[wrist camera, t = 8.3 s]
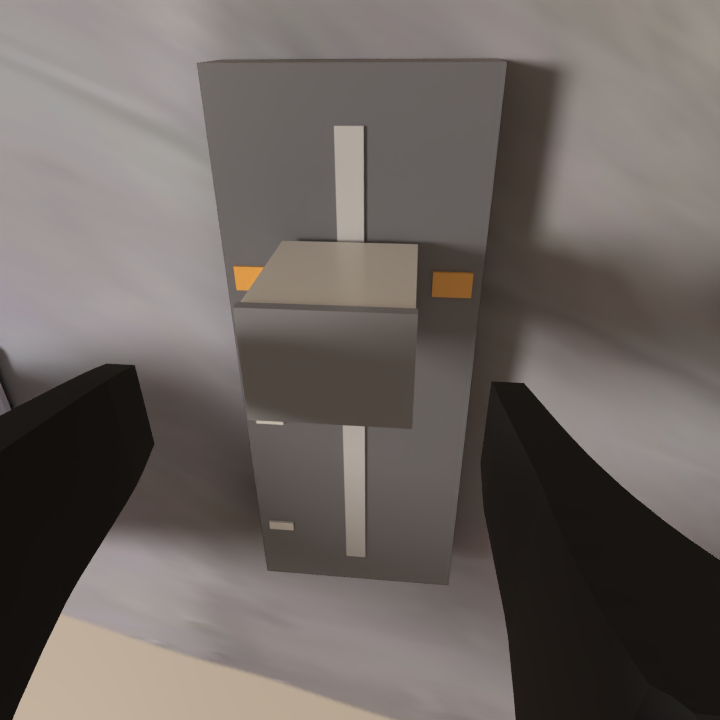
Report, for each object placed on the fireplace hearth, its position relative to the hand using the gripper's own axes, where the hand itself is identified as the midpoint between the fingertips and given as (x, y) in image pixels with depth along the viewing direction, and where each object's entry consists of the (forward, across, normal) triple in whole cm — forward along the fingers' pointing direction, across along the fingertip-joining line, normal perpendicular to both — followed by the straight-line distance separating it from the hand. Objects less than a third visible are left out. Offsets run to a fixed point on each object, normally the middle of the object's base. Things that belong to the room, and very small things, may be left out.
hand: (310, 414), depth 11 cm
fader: (+7, 0, 0) cm, 7 cm away
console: (+9, 0, +4) cm, 10 cm away
